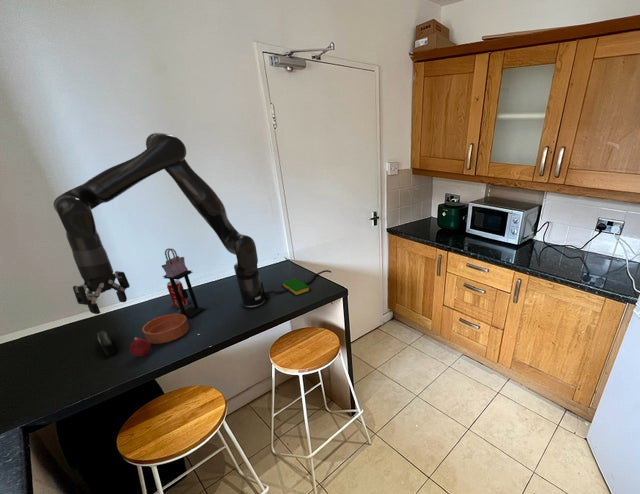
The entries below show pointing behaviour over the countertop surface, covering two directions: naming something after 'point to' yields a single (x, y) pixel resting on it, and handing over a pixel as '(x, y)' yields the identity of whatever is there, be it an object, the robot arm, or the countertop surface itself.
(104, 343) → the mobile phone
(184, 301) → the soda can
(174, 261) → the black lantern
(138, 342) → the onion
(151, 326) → the bowl
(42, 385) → the countertop surface
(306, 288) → the dish sponge
